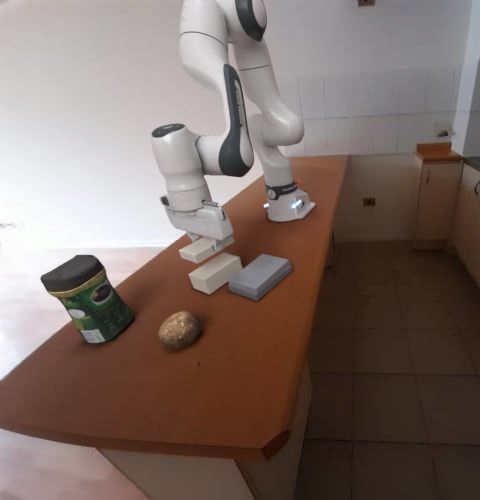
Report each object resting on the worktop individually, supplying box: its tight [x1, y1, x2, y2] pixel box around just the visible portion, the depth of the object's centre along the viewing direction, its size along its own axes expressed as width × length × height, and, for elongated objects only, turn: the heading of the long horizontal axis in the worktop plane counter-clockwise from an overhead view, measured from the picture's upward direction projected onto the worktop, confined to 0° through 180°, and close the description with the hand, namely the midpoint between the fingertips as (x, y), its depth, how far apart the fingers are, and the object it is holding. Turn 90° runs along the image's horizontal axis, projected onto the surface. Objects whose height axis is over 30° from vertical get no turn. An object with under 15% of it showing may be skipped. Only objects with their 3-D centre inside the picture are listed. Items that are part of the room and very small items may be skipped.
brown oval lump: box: [157, 310, 202, 350], centre depth 60 cm, size 8×8×6 cm
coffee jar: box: [40, 254, 134, 344], centre depth 60 cm, size 10×8×19 cm
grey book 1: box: [227, 253, 291, 294], centre depth 76 cm, size 14×10×2 cm, turn 154°
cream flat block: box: [178, 234, 236, 265], centre depth 74 cm, size 12×6×2 cm, turn 151°
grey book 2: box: [227, 264, 293, 302], centre depth 77 cm, size 15×10×2 cm, turn 151°
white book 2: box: [190, 263, 244, 295], centre depth 79 cm, size 12×6×2 cm, turn 151°
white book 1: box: [187, 251, 242, 287], centre depth 78 cm, size 12×6×2 cm, turn 151°
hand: (207, 247), depth 74 cm, fingers closed on cream flat block, 6 cm apart
